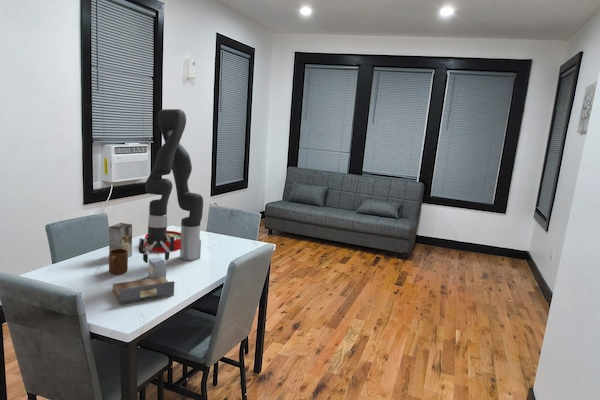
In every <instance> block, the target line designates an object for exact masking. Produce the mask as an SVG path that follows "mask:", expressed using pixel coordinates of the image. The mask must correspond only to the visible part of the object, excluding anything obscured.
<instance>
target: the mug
mask: <svg viewBox="0 0 600 400" xmlns="http://www.w3.org/2000/svg"><path fill="white" fill-rule="evenodd" d="M128 259H129V257H128V251H127V250H125V249H114V250H111V251H110V252H109V251H108V271H109V274H111V275H123V274H125V273H127V272H128V267H129V266H128V264H129V263H128V262H129V260H128Z"/></svg>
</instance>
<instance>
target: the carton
mask: <svg viewBox="0 0 600 400" xmlns="http://www.w3.org/2000/svg"><path fill="white" fill-rule="evenodd" d="M163 276H164V277H165V278H167V262H166V261H165V260H164V259H163V258H162V257H153V258H152V257H151V258H149V259H148V278H149V279H150V278H157V277H163Z"/></svg>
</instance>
